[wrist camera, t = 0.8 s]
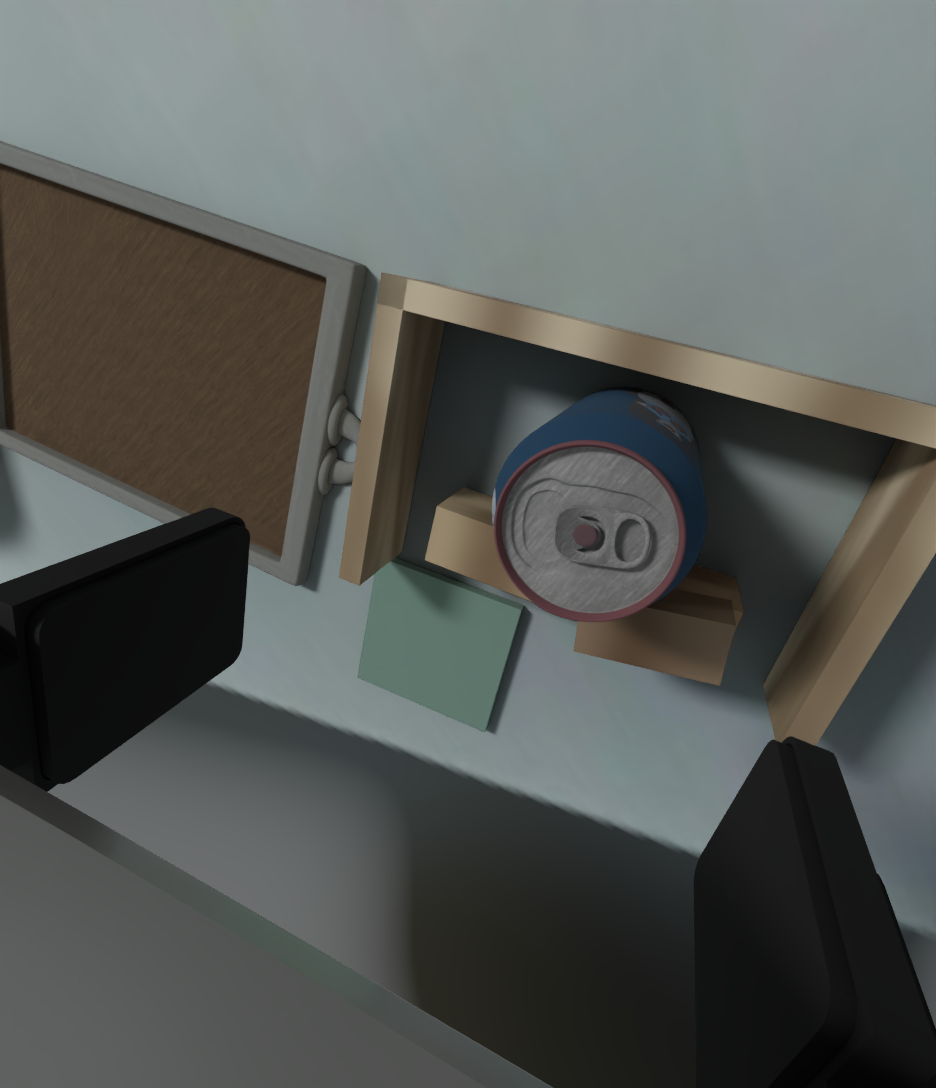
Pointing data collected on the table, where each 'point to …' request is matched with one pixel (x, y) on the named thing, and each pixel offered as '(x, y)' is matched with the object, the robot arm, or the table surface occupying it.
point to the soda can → (602, 506)
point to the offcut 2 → (713, 587)
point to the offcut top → (667, 636)
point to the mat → (437, 641)
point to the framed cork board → (173, 354)
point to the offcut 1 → (468, 540)
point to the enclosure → (892, 500)
